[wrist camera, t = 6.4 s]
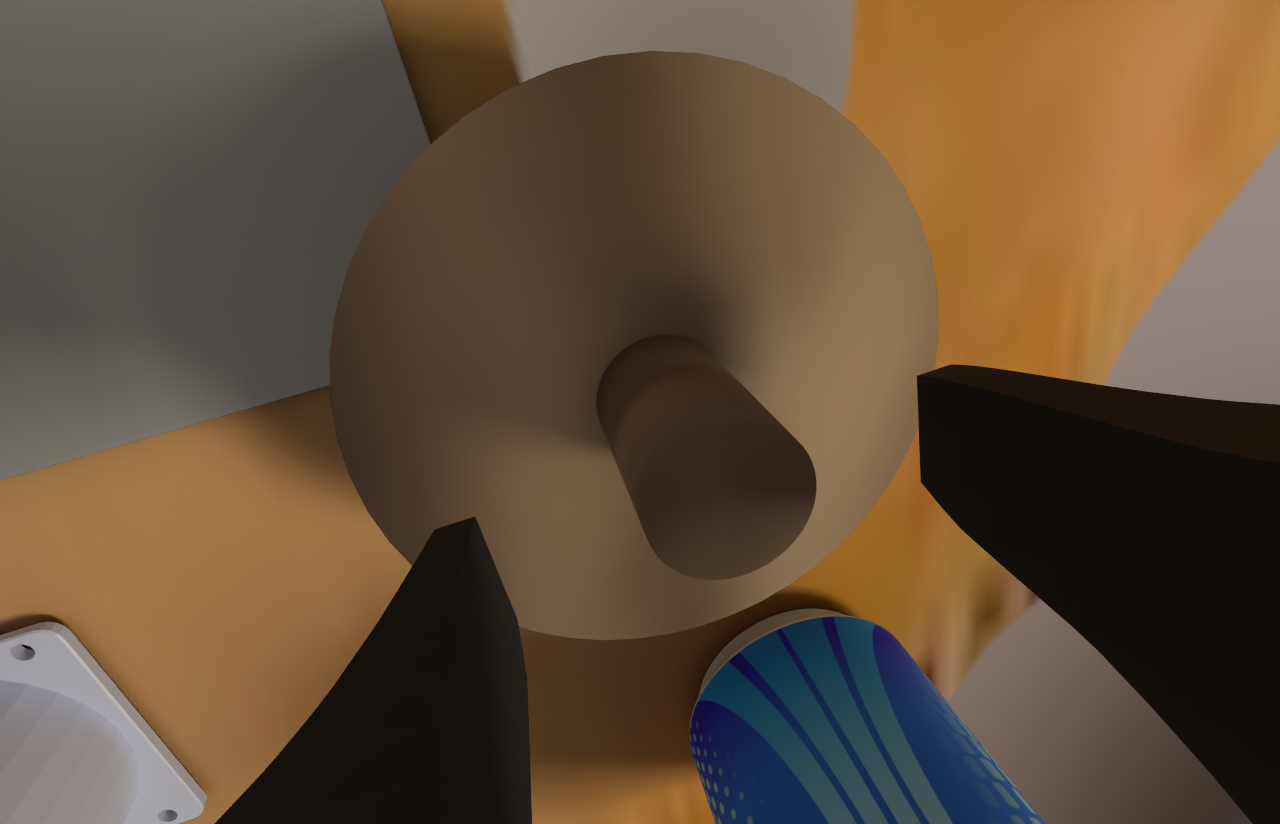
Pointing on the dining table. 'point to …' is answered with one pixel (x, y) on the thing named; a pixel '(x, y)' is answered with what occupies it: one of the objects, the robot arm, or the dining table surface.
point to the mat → (182, 207)
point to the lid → (636, 340)
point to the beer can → (838, 733)
